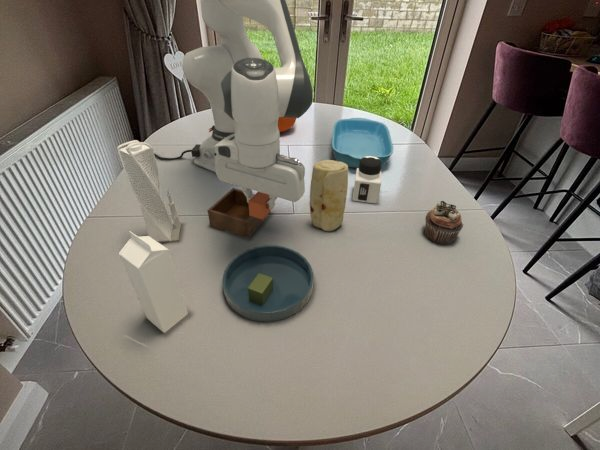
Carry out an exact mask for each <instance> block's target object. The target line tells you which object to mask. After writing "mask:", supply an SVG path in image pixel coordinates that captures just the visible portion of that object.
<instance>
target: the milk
mask: <svg viewBox="0 0 600 450" xmlns="http://www.w3.org/2000/svg"><path fill="white" fill-rule="evenodd" d="M128 233H129V236H130V238H129V239H128V240H127V242H126V243H125V245H124V246H123V247H122V248H121V250H120V251H119V252H118V255H119V257H120V260H121V262H122V265H123V267H124V269H125V272H126V274H127V276H128V279H129V281H130V283H131V286H132V287H133V289H134V292H135V294H136V297H137V299H138V301H139V304H140V306H141V308H142V310H143V312H144V315H145V317H146V319H147V320H148V321H149V322H151V323H152V325H154V326H155V327H157V328H158V329H159V330H160V331H161V332H162V333H163V334H165V333H166V332H167V331H169V330H170V329H171V328H172V327H174V326H175V325H176V324H178V323H180V321H181V320H182V319H184V318H185V317H186V316H187V315H188V314H189V311H188V308H187V305H186V301H185V298H184V295H183V292H182V288H181V285H180V282H179V278H178V275H177V272H176V268H175V266H174V262H173V259H172V256H171V252H170V249H168V247H166V246H164V245H163V244H162V243H158V242H157V241H155V240H154V239H152V238H151V237H149V236H148V235H144V236H143V235H142V236H138V235H136V234H135V233H133V232H132V231H131V230H129V231H128Z"/></svg>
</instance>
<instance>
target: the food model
mask: <svg viewBox="0 0 600 450" xmlns="http://www.w3.org/2000/svg"><path fill="white" fill-rule="evenodd" d="M310 179H311V180H310V186H309V187H310V189H309V213H310V219H311V222H312V225H313V227H315V228H318V229H322V230H323V231H324V232H333V231H335V230H336V229H338V228H339V227H340V226H341V225H342V224H343V222H344V216H345V215H344V214H345V210H346V205H347V204H346V203H347V197H348V196H347V195H348V187H349V167H348V165H347V164H345V163H343V162H338V161H337V160H333V159H332V160H331V159H325V160H324V159H323V160H320V161H318V162H316V163H314V164H313V166H312V172H311V178H310Z"/></svg>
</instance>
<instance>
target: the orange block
mask: <svg viewBox="0 0 600 450" xmlns="http://www.w3.org/2000/svg"><path fill="white" fill-rule="evenodd" d="M254 194H255V195H254V196H253V197H252V198H251V199H250V200H249V201H248V204H249V215H250V216H253V217H256V218H259V219H262V220H263V219H264V218H265V216H266V215H267V214H268V213H269V212H270V211H271V212H272V210H270V209H267V208H266V202H267V201H268V200H269V199H272V198H269V195H268V194H265V193H261V192H258V191H256V192H255V193H254Z"/></svg>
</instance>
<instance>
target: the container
mask: <svg viewBox="0 0 600 450" xmlns="http://www.w3.org/2000/svg"><path fill="white" fill-rule="evenodd" d="M381 166H382V162H381V160H380V159H379V158H376V157H373V156H366V157H363V158H362V159H361V160H360V164H359V168H356V171H355V178H354V186H353V191H352V199H351V200H352V201H354V202H361V203H369V204H378V202H379V201H378V200H379V197H380V191H381V190H380V189H381V185H382V167H383V166H382V167H381Z"/></svg>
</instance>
